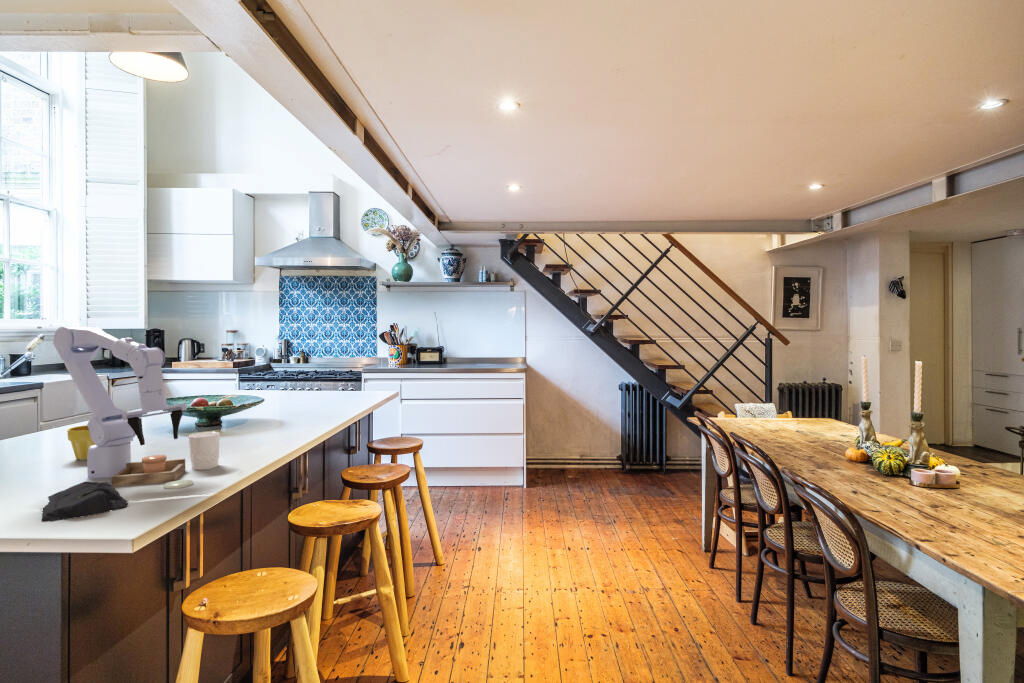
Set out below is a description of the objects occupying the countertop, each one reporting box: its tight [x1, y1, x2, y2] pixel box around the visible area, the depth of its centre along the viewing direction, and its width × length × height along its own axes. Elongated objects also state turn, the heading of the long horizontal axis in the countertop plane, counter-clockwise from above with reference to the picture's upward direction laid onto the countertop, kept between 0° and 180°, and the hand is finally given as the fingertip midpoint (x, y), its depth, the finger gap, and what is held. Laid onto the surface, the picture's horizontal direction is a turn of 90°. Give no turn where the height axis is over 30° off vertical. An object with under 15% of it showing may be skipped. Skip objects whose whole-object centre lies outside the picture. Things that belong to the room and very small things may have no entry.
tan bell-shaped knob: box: [141, 454, 168, 473], centre depth 148 cm, size 6×6×6 cm
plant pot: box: [66, 424, 96, 459], centre depth 174 cm, size 10×10×10 cm
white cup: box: [188, 431, 221, 471], centre depth 160 cm, size 8×8×10 cm
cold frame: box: [111, 458, 186, 487], centre depth 148 cm, size 14×11×4 cm
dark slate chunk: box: [40, 481, 129, 522], centre depth 128 cm, size 15×22×5 cm
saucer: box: [162, 479, 194, 490], centre depth 141 cm, size 8×8×1 cm
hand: (159, 441), depth 149 cm, fingers open, 7 cm apart
